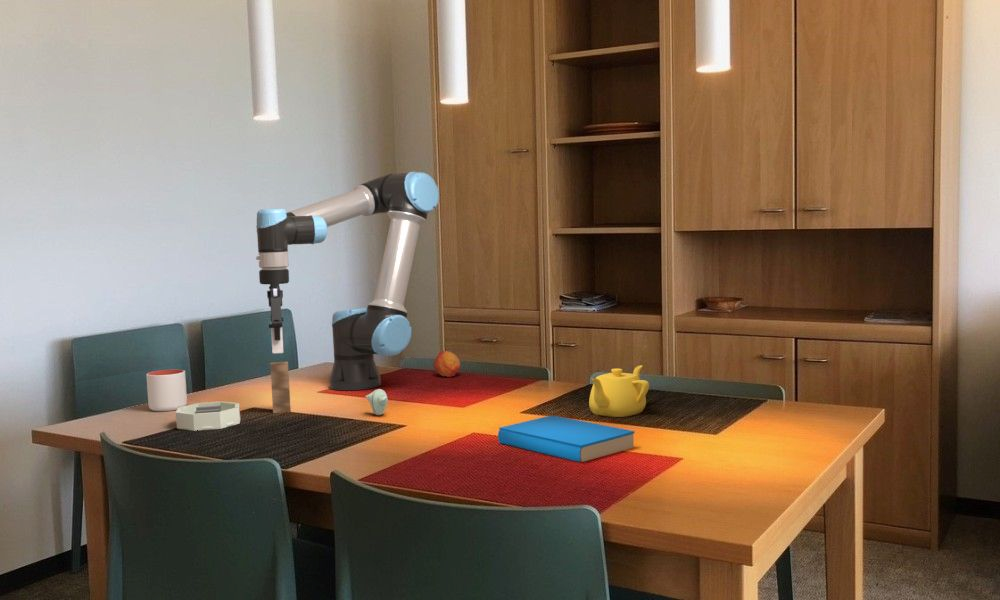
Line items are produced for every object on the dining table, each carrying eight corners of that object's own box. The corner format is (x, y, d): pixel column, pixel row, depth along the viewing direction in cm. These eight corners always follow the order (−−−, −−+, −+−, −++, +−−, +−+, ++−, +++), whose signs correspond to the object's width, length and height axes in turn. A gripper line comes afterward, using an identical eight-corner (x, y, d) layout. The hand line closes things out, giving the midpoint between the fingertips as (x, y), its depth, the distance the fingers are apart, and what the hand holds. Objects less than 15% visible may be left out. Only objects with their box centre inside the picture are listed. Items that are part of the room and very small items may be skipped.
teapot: (624, 424, 231) (623, 378, 230) (570, 417, 242) (569, 373, 241) (673, 408, 248) (672, 365, 247) (621, 401, 258) (620, 360, 257)
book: (551, 415, 228) (635, 429, 209) (552, 433, 228) (636, 449, 210) (496, 428, 216) (580, 444, 198) (497, 447, 217) (580, 465, 198)
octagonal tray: (241, 415, 257) (240, 399, 257) (239, 427, 242) (238, 411, 242) (179, 419, 254) (178, 404, 253) (174, 432, 239) (173, 416, 238)
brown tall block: (290, 410, 262) (287, 361, 260) (290, 411, 259) (288, 362, 258) (273, 411, 261) (270, 362, 259) (273, 413, 258) (270, 364, 257)
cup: (193, 404, 274) (190, 369, 273) (178, 412, 264) (175, 375, 263) (158, 405, 275) (156, 369, 274) (142, 412, 265) (139, 375, 264)
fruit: (450, 373, 311) (449, 348, 310) (466, 376, 305) (465, 350, 304) (430, 376, 306) (429, 351, 305) (445, 379, 300) (444, 353, 299)
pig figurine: (363, 414, 252) (362, 388, 252) (376, 412, 255) (375, 386, 254) (382, 418, 247) (381, 392, 246) (395, 416, 249) (394, 389, 249)
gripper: (259, 266, 267) (262, 344, 269) (258, 271, 243) (262, 356, 245) (287, 265, 269) (290, 343, 271) (289, 270, 245) (293, 355, 247)
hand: (277, 349), depth 258 cm, fingers open, 13 cm apart
